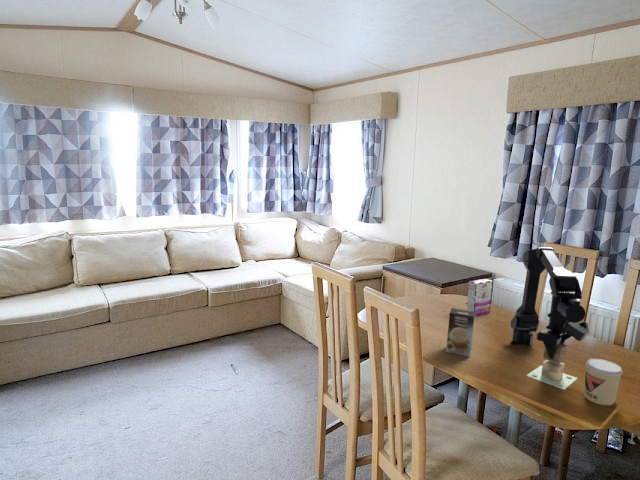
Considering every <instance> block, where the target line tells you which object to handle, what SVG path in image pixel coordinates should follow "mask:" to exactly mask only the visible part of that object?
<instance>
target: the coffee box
mask: <svg viewBox="0 0 640 480" xmlns="http://www.w3.org/2000/svg"><path fill="white" fill-rule="evenodd" d="M475 321H476V316H475V312H472V311H467V309H466V310H465V309H460V308H454V307H451V309H450V311H449V318H448V328H447V337H446V338H447V339H446V349H445V353H450V354H454V355H457V356H458V355H459V356H463V357H468V358H470V357H471V355H472V354H471V353H472V349H473V341H474V330H475V329H474V328H475Z"/></svg>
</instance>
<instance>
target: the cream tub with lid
mask: <svg viewBox="0 0 640 480" xmlns="http://www.w3.org/2000/svg"><path fill="white" fill-rule="evenodd" d="M622 374H623V370H622V367H621V366H620V365H619V364H617V363H615V362H612V361H610V360H605V359H601V358H589V359H588V360H587V361H586V362H585V375H584V376H585V377H584V392H583V393H584V397H585V398H586V399H587V400H588V401H590V402H592V403H594V404H597V405H602V406H612V405H614V404H615V401H616V397H617V393H618V389H619V387H620V386H619V385H620V382H621V377H622Z"/></svg>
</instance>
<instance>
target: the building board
mask: <svg viewBox="0 0 640 480" xmlns="http://www.w3.org/2000/svg"><path fill="white" fill-rule="evenodd" d="M541 374H542V365H539V366H537V367H536V368H535V369H534V370H532V371H530V372H529V373H528V374H526V375H525V376H526V377H529V378H532V379H534V380H537V381H539V382H542V383H545V384H548V385H551V386H552V387H555V388H558V389H561V390H566V389H567V388H568V387H570V386H571V384H573V383H574V382H575V381H576V380H577V379H578V377H576V376H573V375H569V374H567V373H564V372H563V377H562V378H561V379H560V380H559V381H557V382H555V381H553V380H550V379H547V378H545V377H542V376H541Z"/></svg>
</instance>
